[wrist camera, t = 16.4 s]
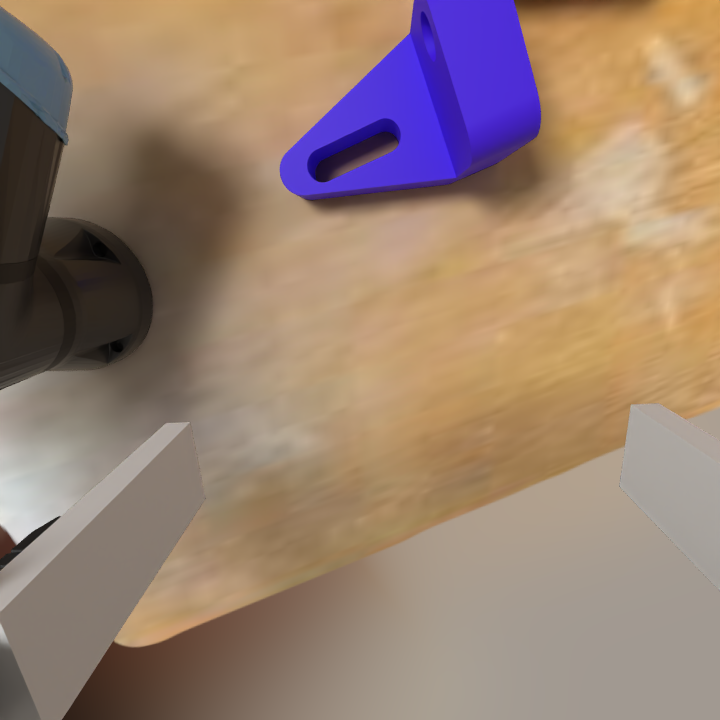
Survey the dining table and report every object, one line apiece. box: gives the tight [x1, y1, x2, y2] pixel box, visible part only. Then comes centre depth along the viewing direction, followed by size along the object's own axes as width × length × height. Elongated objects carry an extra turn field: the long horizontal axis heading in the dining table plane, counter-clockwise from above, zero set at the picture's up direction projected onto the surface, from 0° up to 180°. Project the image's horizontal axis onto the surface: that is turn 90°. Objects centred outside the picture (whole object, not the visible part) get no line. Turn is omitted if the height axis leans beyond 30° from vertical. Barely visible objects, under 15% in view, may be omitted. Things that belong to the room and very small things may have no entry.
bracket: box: [280, 0, 541, 200], centre depth 31 cm, size 18×11×12 cm, turn 112°
